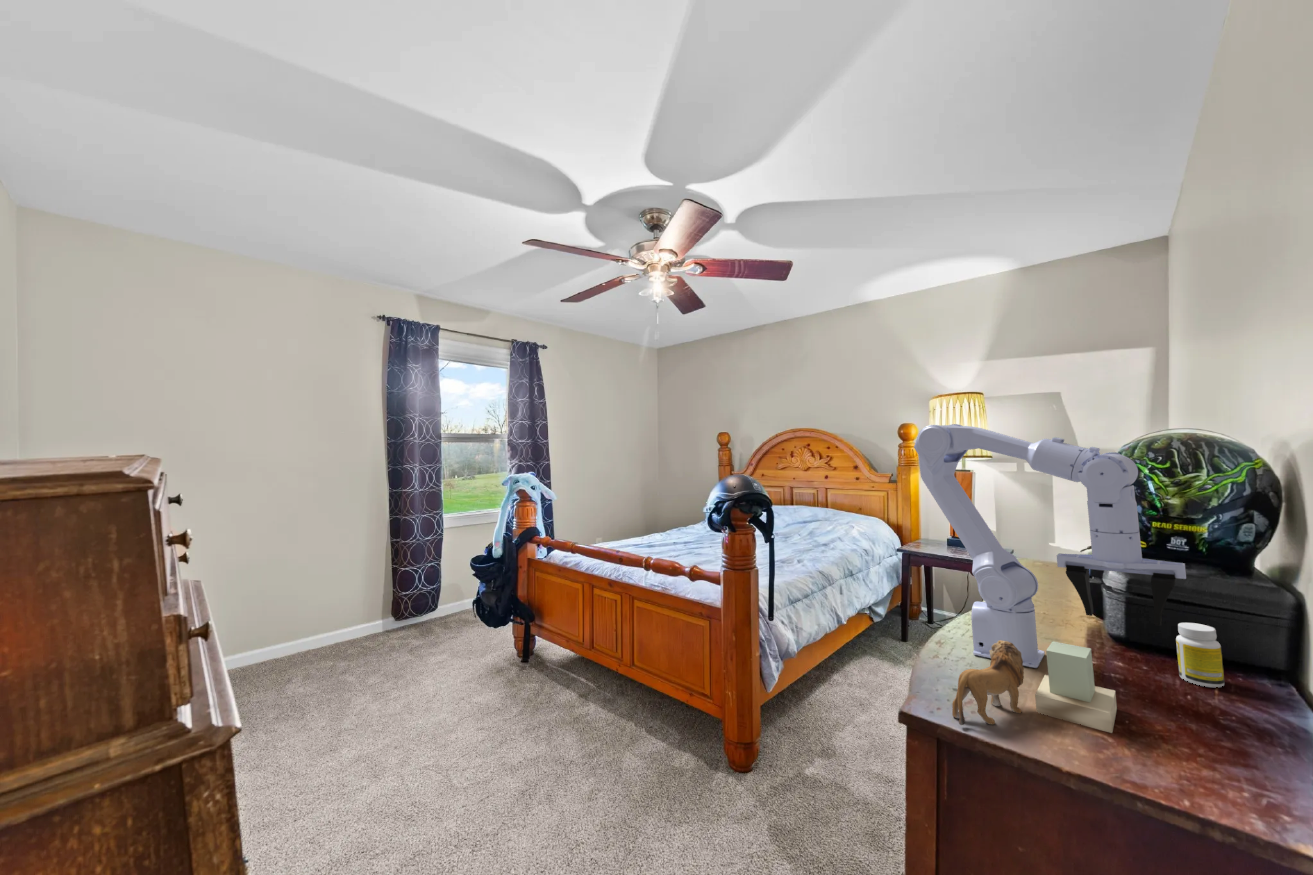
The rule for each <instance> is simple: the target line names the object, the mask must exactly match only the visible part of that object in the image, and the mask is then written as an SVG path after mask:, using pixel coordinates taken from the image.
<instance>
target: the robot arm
mask: <svg viewBox="0 0 1313 875" xmlns="http://www.w3.org/2000/svg"><path fill="white" fill-rule="evenodd" d="M913 449H914V450H915V451H916V454H917V455H918V461H919V462H918V463H919V472H920V478H921V480H922V482H923V483H924V484H925V486H926V488H927V489H928V491H929V493H930V494H931V495H932V497H933V499H934V501H935V502H936V503H937V505H938V507H939V509H940V510H941V511H942V513H943V515H944V516H945V517H946V519H947V521H948V522H949V524H950V526H951V527H952V529H953V530H954V532H955V534H956V535H957V537H958V538H959V540H960V541H961V543H962V544H963V546H964V547H965V550H966V551H967V553H968V554H969V556H970V557H971V559H972V570H971V572H972V575H973V577H974V578H975V580H976V584H977V590H978V594H979V595H980V597H981V599H982V600H983V601H979V600H977V601H974V602H973V604H972V607H971V617H970V618H971V619H970V620H971V629H972V630H971V631H972V633H971V634H972V643H973V651H972V654H973V655H974V656H977V657H978V656H979V657H984V658H988V659H991V657H990V652H989V651H990V650H992V648H991V646H992V645H993V644H994V643H997V642H998V641H999V640H1001V641H1008V642H1010V643H1013V644H1014V646H1015V647H1016V648H1017V649H1018V650H1019V651H1020V652H1021V657H1022V660H1023V667H1027V668H1028V667H1029V668H1032V669H1033V668H1034V669H1037V668H1038V667H1039V666H1040V664H1041V662H1042V660H1043V658H1044V656H1045V653H1046V651H1044V650H1041V649H1039V648H1038V633H1037V623H1036V622H1037V620H1036V612H1035V604H1034V602H1033V600H1032V599H1033V597H1034V596H1035V595H1036V594H1037V592H1038V590H1039V582H1038V578H1037V577H1036V575H1035V573H1034V572H1032V570H1030V569H1029V568H1027V567H1026V566H1024V565H1023V564H1022V563H1020V561H1019V560H1018V559H1017V557H1016V556H1015V555H1014V554H1013V553H1011V552H1009V551H1008V550H1006V549H1004V547H1003V546H1002V545H1001V544H1000V542H999V540H998V539H997V538H996V536H995V535H994V533H993V531H992V530H991V529H990V526H989V525H988V523H987V522H986V520H984V518H983V516H982V515H981V514H980V512H979V510H978V509H977V508H976V506H975V504H974V503H973V501H972V500H971V498H969V495H968V494H967V493H966V491H965V489H964V487H962V485H961V484H960V482H959V481H958V479H957V478H956V476H955V472H956V469H957V467H958V465H959V462H960V461H961V460H962V458H963V457H964V456H965V455H966V454H967V453H968V451H969V450H971V451H972V450H978V449H979V450H984V451H988V452H992V453H996V454H999V455H1000V454H1001V455H1004V456H1008V457H1012V458H1016V459H1021V460H1025V461H1026V462H1027V463H1028V465H1029V466H1030V468H1031V469H1032V470H1033V471H1036V472H1039V473H1043V474H1047V475H1050V476H1054V477H1057V478H1060V479H1064V480H1067V481H1071V482H1073V483H1081V484H1082V486H1084V488H1086V495H1087V496H1086V497H1087V501H1086V502H1087V513H1088V514H1087V515H1088V523H1089V524H1088V525H1089V535H1090V536H1089V537H1090V546H1091V554H1087V553H1086V554H1084V553H1083V554H1080V553H1078V554H1077V553H1057V555H1056V562H1057V564H1056V565H1057V566H1056V567H1057V568H1063V569H1064V568H1065V574H1066V576H1067V578H1068V579H1069V581H1070V582H1071V584H1072V585H1073V587H1074V589H1075V590H1076V592H1077V594H1078V595H1079V598H1080V600H1081V603H1082V605H1083V608H1084V611H1085V615H1086V616H1089V617H1092V616H1093V614H1094V605H1093V599H1092V594H1091V584H1090V582H1091V578H1090V570H1096V571H1106V572H1107V571H1108V572H1118V573H1128V574H1140V575H1150V576H1151V577H1150V584H1151V590H1152V598H1153V624H1154V626H1159V627H1161V626H1162V616H1163V611H1164V608H1165V605H1166V602H1167V601H1168V598H1169V596H1170V594H1171V592H1172V591H1173V589H1174V587H1175V585H1176V580H1177V579H1180V580H1182V579H1183V580H1186V579H1187V573H1186V563H1183V562H1175V561H1165V560H1158V559H1157V560H1156V559H1149V558H1143V554H1142V543H1141V536H1140V535H1141V534H1140V524H1139V513H1138V512H1139V511H1138V503H1137V501H1136V492H1135V486H1134V485H1132V484H1134V483H1135V482H1136V480H1137V479H1138V476H1139V468H1138V466H1137V464H1136V463H1135V462H1134V460H1132V459H1131V458H1130V457H1128V456H1126V455H1123V454H1120V453H1119V452H1115V451H1112V452H1105V453H1102V454H1101V453H1100V450H1101V449H1100V447H1095V446H1089V448H1086V447H1082V446H1079V445H1074V444H1070V443H1066V442H1065V438H1062V437H1056V436H1055V437H1052V438H1051V439H1050V438H1042V439H1040V440H1037V441H1036V442H1031V441H1029V440H1024V439H1020V438H1018V437H1014V436H1009V435H1007V434H1003V433H999V432H996V431H992V430H989V429H986V428H983V427H977V426H970V425H968V426H967V425H961V424H957V423H955V424H954V423H953V424H948V425H946V424H945V425H938V424H929V425H926V426H924V427H923V428H922V429H921V430H920V431H919V432H918V434H917V437H916V439H915V442H914V446H913Z"/></svg>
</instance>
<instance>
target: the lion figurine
mask: <svg viewBox="0 0 1313 875" xmlns="http://www.w3.org/2000/svg"><path fill="white" fill-rule="evenodd" d="M991 648H992V650H990V651H989V652H990V657H991V658H990V666H988V667H986V668H982V669H977V668H970V669H969V668H968V669H965V670H963V671H962V672H960V673H959V677H958V682H957V690H956V695H955V697H954V699H953V701H952V704H951V707H952V717H953V718H956V719H959V720H958V724H959V725H960V726H964V725H965V715H964V710H963V709H964V708H963V705H964V704H963V701H964V700H965V698H966V697H968V695H969V693H971V695H972V696H973V698H974V701H975V702H976V705H977V714H978V715H979V716H980V717H981V718H982V720H983V721H984V722H985V723H986V724H989V725H995V724H996V721H995V719H994V718H993V717H991V716H988V714H987V712H986V711H987V710H986V708H987V703H988V696H991V700H990V704H991V705H992V706H994V707H1001V705H1002V703H1001V700H1000V695H1002V694H1004V693H1005V692H1007V693H1008V694H1009V698H1010V703H1009V705H1010V706H1009V707H1010V710H1011V711H1012V712H1014V713H1016V714H1022V713H1021V712H1023V711H1022V709H1021V708H1020V707H1018V706H1019V705H1018V704H1019V696H1020V692H1019V687H1020V686H1022V685H1023V684H1024V679H1025V676H1024V674H1025V668H1024V667H1025V666H1024V665H1023V660H1022V657H1021V652H1020V651H1019V650H1018V649H1017V648H1016V647H1015V646H1014V644H1013V643H1010V642H1008V641H1001V640H999V641H998V642H997V643H994V644H993V645H992V646H991Z"/></svg>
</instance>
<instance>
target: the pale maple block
mask: <svg viewBox="0 0 1313 875" xmlns="http://www.w3.org/2000/svg"><path fill="white" fill-rule="evenodd" d="M1034 698H1035V710H1036V711H1037V712H1038V713H1037V712H1036V713H1037V714H1040V713H1041V714H1040V715H1043V714H1044V715H1043V716H1047V715H1048V717H1052V718H1055V719H1059V720H1062V719H1063V720H1062V721H1065V722H1070V723H1074V724H1077V725H1080V724H1081V726H1084V727H1088V728H1091V729H1095V730H1099V731H1103V732H1107V733H1110V734H1113V733H1114V732H1113V731H1114V726H1115V720H1116V715H1117V710H1118V708H1117V707H1118V705H1117V697H1116V690H1114V689H1109V688H1104V687H1101V686H1096V685H1095V692H1094V695H1093V697H1092V700H1091V702H1086V701H1082V700H1078V699H1074V698H1070V697H1066V696H1062V695H1058V694H1054V693H1050V686H1049V676H1048V674H1044V676H1043V678H1042V679H1041V682H1040V684H1039V686H1038V688H1037V689H1036V692H1035V693H1034Z"/></svg>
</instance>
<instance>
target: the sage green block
mask: <svg viewBox="0 0 1313 875" xmlns="http://www.w3.org/2000/svg"><path fill="white" fill-rule="evenodd" d="M1045 653H1046V664H1047V673H1048V674H1047V675H1048V676H1049V686H1050V693H1054V694H1058V695H1062V696H1066V697H1070V698H1074V699H1078V700H1082V701H1086V702H1091V700H1092V697H1093V695H1094V692H1095V686H1096V685H1095V675H1094V666H1093V665H1094V664H1093V654H1092V648H1090V647H1085V646H1080V645H1079V646H1078V645H1076V644H1075V645H1074V644H1069V643H1063V642H1058V641H1051V643H1050V644H1049V646H1048V647H1047V648H1046V650H1045Z"/></svg>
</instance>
